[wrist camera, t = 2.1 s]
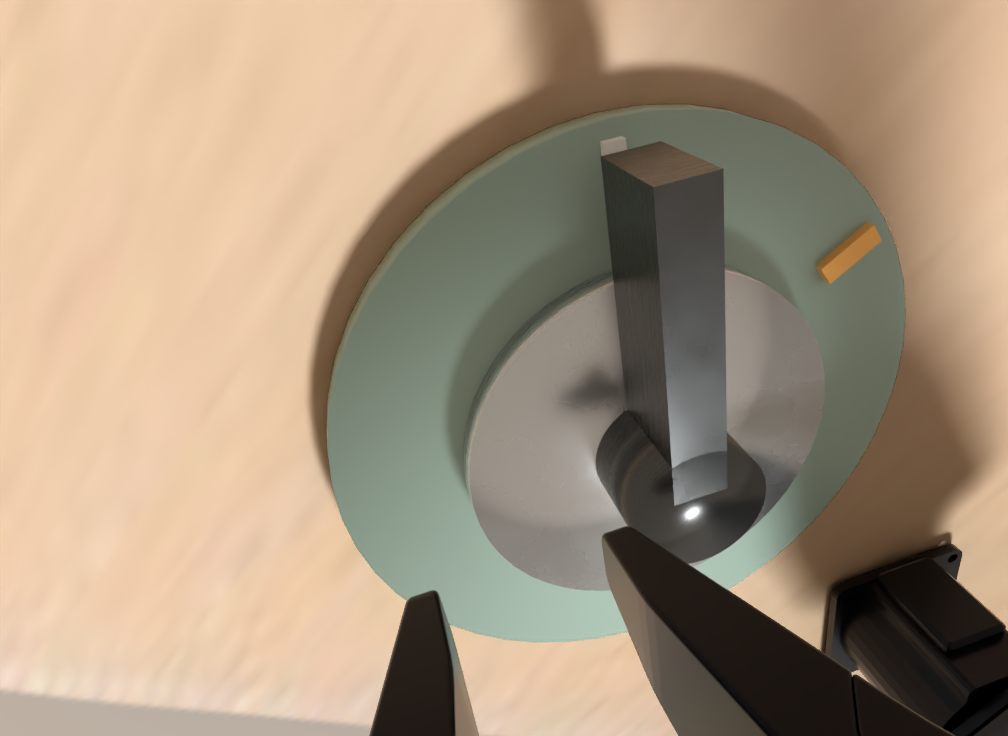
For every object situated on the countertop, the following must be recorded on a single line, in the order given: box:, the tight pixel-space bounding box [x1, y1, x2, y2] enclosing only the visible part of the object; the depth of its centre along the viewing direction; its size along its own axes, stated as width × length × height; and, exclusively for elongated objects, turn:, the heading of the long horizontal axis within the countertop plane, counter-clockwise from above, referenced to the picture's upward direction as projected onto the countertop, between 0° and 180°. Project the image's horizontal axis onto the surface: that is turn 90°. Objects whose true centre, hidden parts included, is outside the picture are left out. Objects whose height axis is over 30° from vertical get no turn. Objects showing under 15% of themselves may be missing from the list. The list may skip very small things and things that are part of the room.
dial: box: [463, 141, 825, 591], centre depth 20 cm, size 16×12×4 cm
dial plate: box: [326, 104, 905, 642], centre depth 24 cm, size 20×20×1 cm
